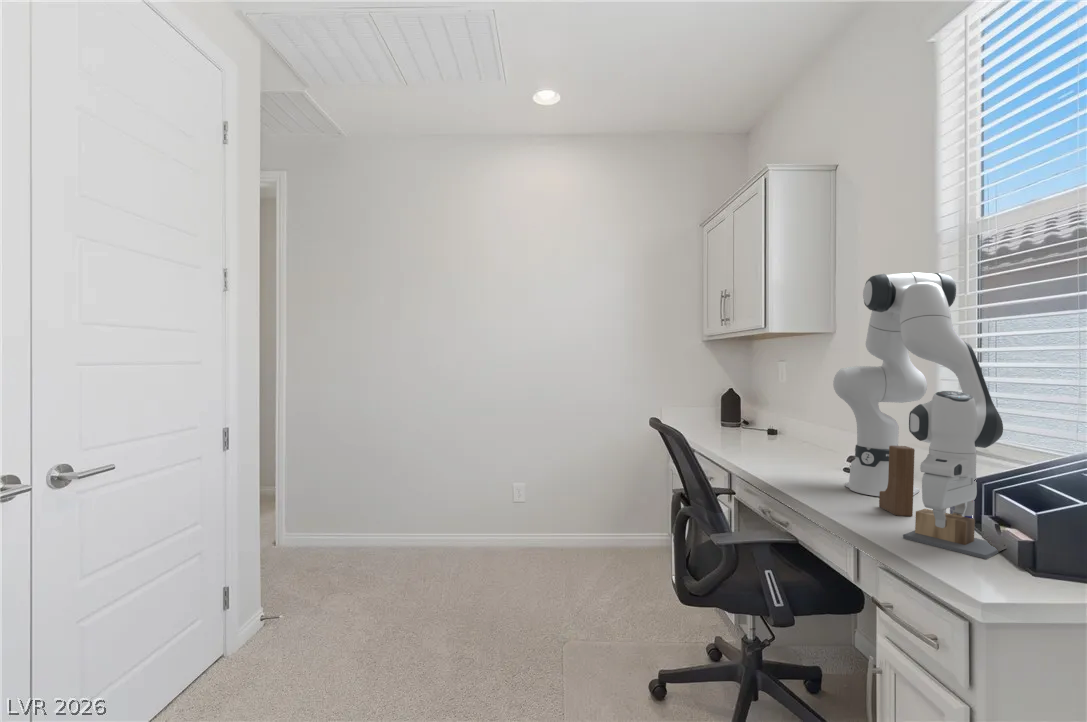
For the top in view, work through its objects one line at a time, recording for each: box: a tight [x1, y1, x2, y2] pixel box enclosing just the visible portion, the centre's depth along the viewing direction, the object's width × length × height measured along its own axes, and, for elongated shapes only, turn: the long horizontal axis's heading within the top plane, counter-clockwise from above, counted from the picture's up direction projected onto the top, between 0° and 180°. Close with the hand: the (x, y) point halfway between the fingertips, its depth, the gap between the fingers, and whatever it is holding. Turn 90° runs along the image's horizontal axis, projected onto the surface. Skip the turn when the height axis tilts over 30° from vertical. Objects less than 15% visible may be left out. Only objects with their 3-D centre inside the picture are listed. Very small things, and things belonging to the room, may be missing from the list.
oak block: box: [914, 508, 976, 545], centre depth 132 cm, size 5×5×10 cm
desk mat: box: [902, 530, 999, 560], centre depth 130 cm, size 12×16×1 cm
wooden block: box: [878, 445, 915, 517], centre depth 156 cm, size 9×4×18 cm, turn 175°
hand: (949, 523), depth 131 cm, fingers open, 8 cm apart
